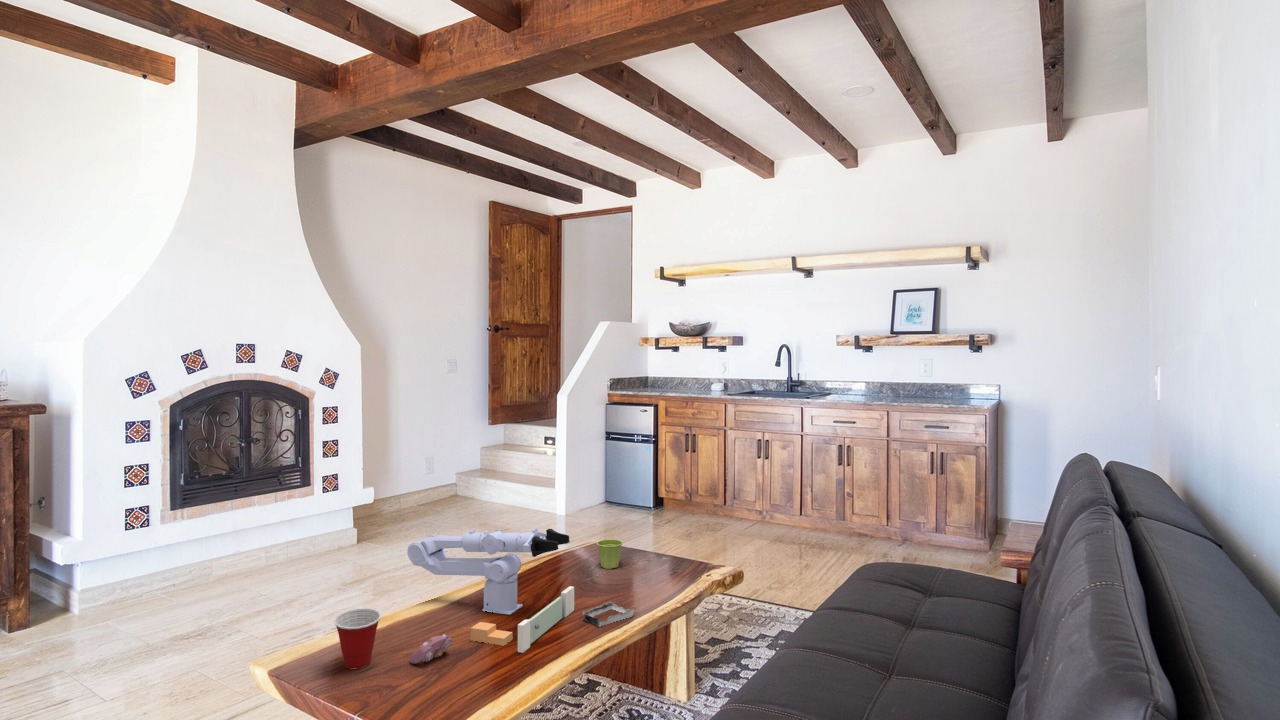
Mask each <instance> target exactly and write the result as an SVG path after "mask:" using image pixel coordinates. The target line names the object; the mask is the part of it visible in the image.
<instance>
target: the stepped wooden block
mask: <svg viewBox="0 0 1280 720" xmlns="http://www.w3.org/2000/svg"><path fill="white" fill-rule="evenodd" d="M471 640H473V641H472V642H475V641H478V642H477V643H481V642H484V643H483V644H488V643H489V645H494V644H495V645H496V646H501V647H502V646H503V647H504V645H505V646H506V645H507V644H509V643H510V642H511V641H513V640H514V639H513V632H512V631H507V630H501V629H500V630H499V629H497V623H492V622H491V623H490V622H483V621H478V623H475V625H473V626H471V627H470V641H471ZM508 642H509V643H508Z"/></svg>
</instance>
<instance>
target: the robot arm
mask: <svg viewBox="0 0 1280 720" xmlns="http://www.w3.org/2000/svg"><path fill="white" fill-rule="evenodd" d="M569 543H570V535H569V534H566V533H560V532H557V531H555V530H554V529H552V528H548V529H546V532H545V533H544V532H541V531H539V530H538V528H536V527H535V528H533V529H532V531H531V532H530V531H529V532H527V531H526V532H525V531H523V532H520V531H519V532H518V531H517V532H505V531H503V530H498V529H496V530H494V531H492V532H490V531H489V530H485V531H483V532H476V530H470V531H468V532H466V533H465V534H464V535H463V536H462V535H461V536H459V535H441V534H437V535H430V536H427V537H425V538H423V539H420V540H418V541H414V542H411V543H409V545H408V547H407V551H406V552H407V557H408V559H409V560H410V561H411V563H412V565H413V566H416V567H421V568H423V569H425V570H426V571H428V572H430V573H431V574H433V575H436V576H475V577H476V576H477V577H478V576H479V577H484V578H485V579H486V581H485V583H484V587H483V608H482V609H481V611H482V612H485V611H487V613H492V612H493V614H500V615H508V616H511V615H512V614H513V613H515V612H517V611H518V610H519V609H521V608H522V607H523V604H522V603H518V572H520V571H521V568H522V561H521V558H520V556H518V555H517V554H516V553H531V555H532V557H533V558H535V557H538V556H539V555H541V554H545V553H549V552H554V551H558V550H559V546H560V545H566V544H569ZM460 548H462V549H463V551H464V552H466V553H488V554H489V556H491V555H492V556H493V555H495V554H496V553H498V552H500V553H507V554H505V555H499V556H495V557H490V558H489V557H488V558H487V557H481V558H480V557H447V554H446V551H445V549H460Z"/></svg>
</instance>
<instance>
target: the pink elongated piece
mask: <svg viewBox="0 0 1280 720" xmlns="http://www.w3.org/2000/svg"><path fill="white" fill-rule="evenodd" d="M452 644H453V639H452V638H451V637H450V636H449V635H446V634H445V633H444V634H442V635H435V636H432V637H430V638H429V639H428V640H427V641H424V642H423V643H422V644H421V645H420V646H419V647H418V648H417V649H416V650H415V651H414V652H412V653H411V655H410V656H409V661H410V663H411V664H418V663H420V662H421V661H423V660H424V661H425V663H429V662H431V661H432V660H433V658H434V657H435V658H437V657H438V658H440V657H441V656H443V654H444V652H446V650H447V649H449V648H450V647H451V645H452ZM439 656H440V657H439ZM430 660H431V661H430ZM428 661H429V662H428Z"/></svg>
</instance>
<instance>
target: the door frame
mask: <svg viewBox="0 0 1280 720" xmlns="http://www.w3.org/2000/svg"><path fill="white" fill-rule="evenodd" d="M560 596H564V618H566V617H568V616H569V615H570V614H572V612H574V611H575V586H571V585H569V586H568V587H567V588H565V589H564V590H562V591H561V593H560ZM530 648H531V644H530V620H529V619H523V620H522V621H521V622H520V623H518V624H517V653H522V654H524V653H525V652H526V651H527V650H528V649H530Z"/></svg>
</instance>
